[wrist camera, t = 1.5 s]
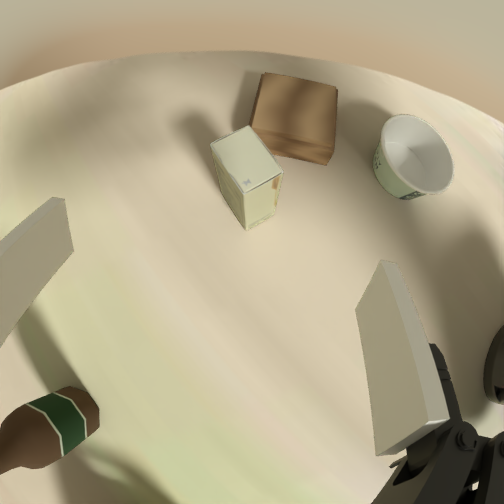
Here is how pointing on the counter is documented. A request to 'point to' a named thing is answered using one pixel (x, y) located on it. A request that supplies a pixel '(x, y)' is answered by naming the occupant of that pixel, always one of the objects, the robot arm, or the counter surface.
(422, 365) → the robot arm
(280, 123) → the walnut base
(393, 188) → the food container
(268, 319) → the counter surface
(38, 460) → the beer bottle
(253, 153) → the skincare box
